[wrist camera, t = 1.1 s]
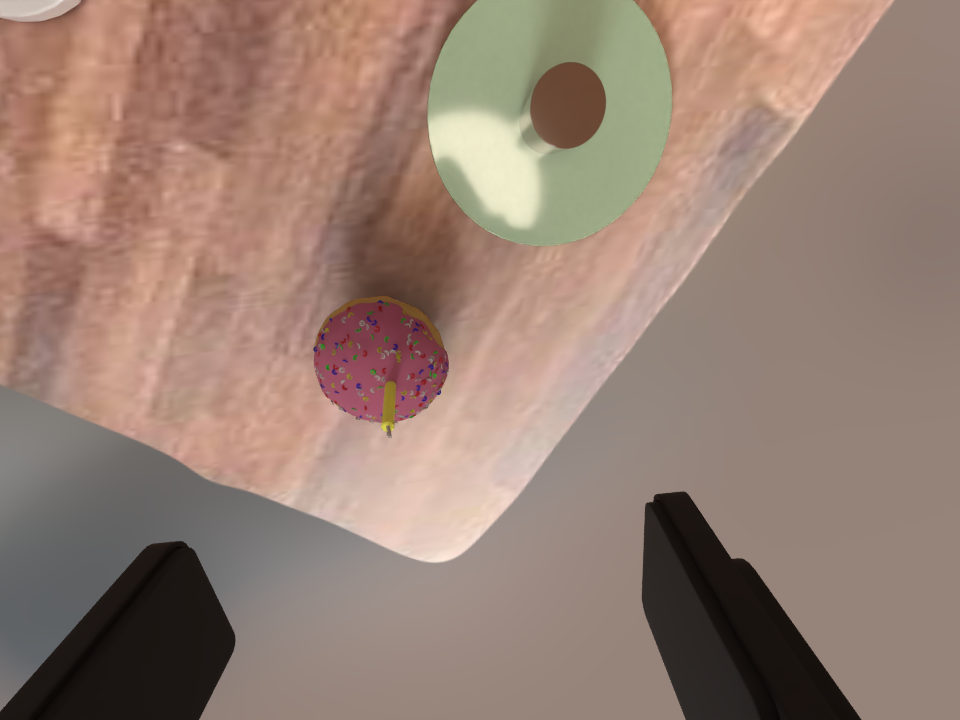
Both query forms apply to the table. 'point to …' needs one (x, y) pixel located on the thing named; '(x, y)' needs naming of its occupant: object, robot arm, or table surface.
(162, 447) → the table surface
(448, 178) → the lid
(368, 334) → the sprinkled cake with candle
